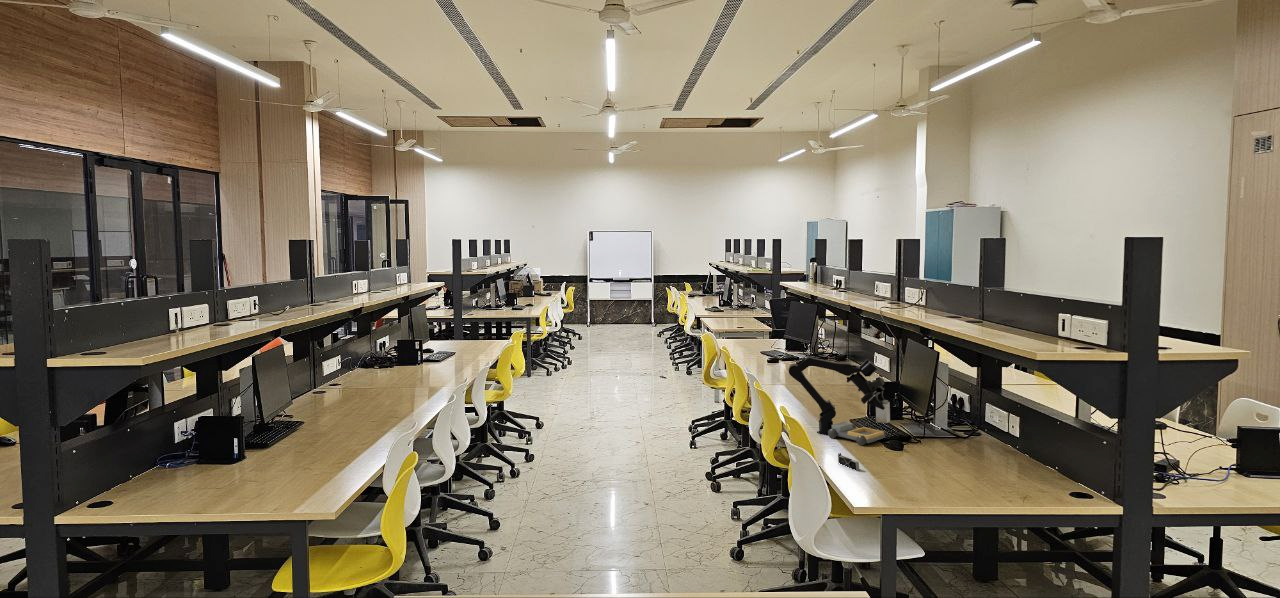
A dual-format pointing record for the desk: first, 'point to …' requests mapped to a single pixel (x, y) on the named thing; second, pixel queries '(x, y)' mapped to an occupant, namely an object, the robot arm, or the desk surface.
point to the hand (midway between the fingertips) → (885, 408)
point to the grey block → (883, 412)
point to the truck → (856, 433)
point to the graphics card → (848, 462)
